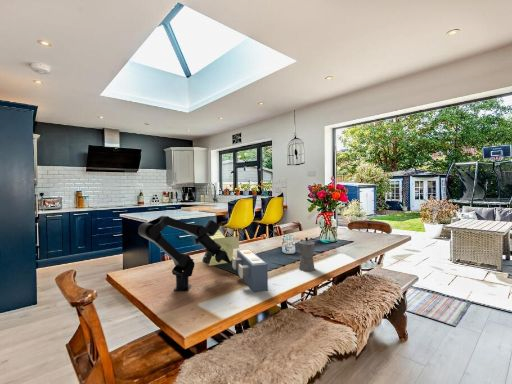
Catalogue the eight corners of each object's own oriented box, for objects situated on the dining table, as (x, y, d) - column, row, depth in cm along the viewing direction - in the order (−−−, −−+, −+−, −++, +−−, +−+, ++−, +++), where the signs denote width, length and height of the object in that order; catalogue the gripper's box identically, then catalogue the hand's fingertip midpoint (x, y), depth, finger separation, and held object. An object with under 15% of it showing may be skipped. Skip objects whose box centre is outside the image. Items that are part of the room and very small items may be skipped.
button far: (234, 269, 137) (234, 259, 137) (232, 266, 142) (232, 256, 142) (246, 268, 139) (246, 258, 139) (244, 265, 144) (244, 255, 144)
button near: (241, 278, 124) (241, 267, 124) (238, 274, 129) (238, 264, 129) (254, 276, 126) (254, 265, 126) (251, 273, 131) (251, 262, 131)
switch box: (253, 292, 120) (252, 264, 120) (237, 271, 149) (237, 249, 148) (267, 290, 122) (267, 262, 122) (249, 270, 151) (249, 248, 151)
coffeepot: (319, 271, 147) (319, 239, 146) (303, 273, 145) (303, 240, 144) (308, 264, 162) (308, 234, 161) (293, 265, 160) (293, 235, 159)
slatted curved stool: (239, 265, 161) (238, 235, 161) (214, 269, 154) (213, 238, 153) (221, 254, 188) (220, 228, 187) (198, 257, 180) (198, 231, 180)
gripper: (195, 251, 143) (216, 269, 147) (198, 260, 125) (222, 280, 129) (209, 235, 145) (229, 253, 149) (215, 242, 128) (238, 262, 131)
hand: (229, 262), depth 140 cm, fingers closed
